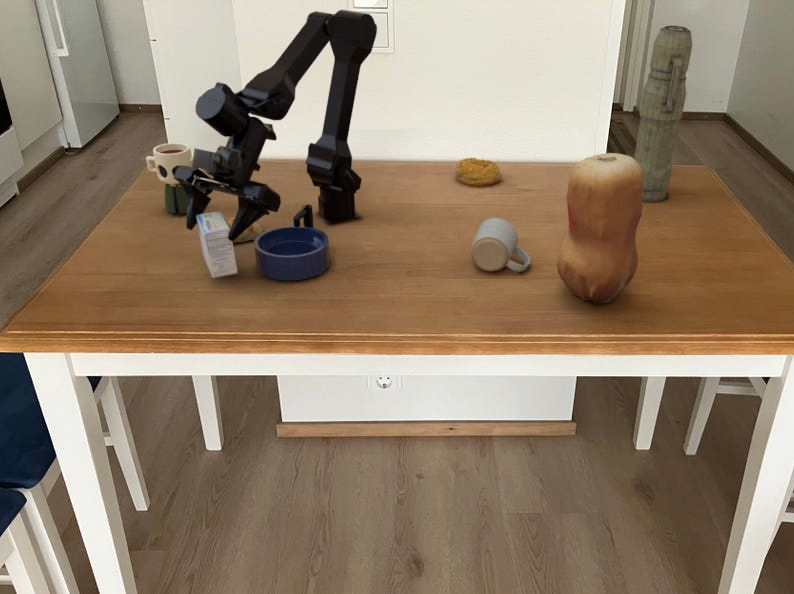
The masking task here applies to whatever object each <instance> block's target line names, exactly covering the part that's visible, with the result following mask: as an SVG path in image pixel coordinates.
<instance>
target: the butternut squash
mask: <svg viewBox="0 0 794 594" xmlns="http://www.w3.org/2000/svg"><path fill="white" fill-rule="evenodd" d="M570 171H571V172H570V175H569V181H568V184H567V191H566V205H567V217H568V218H567V219H568V230H567V232H566V235H565V236H564V238H563V240H562V242H561V245H560V248H559V251H558V255H557V261H556V268H557V273H558V275H559V277H560V279H561V281H562V283H563V284H564V285H565V288H567V290H569V291H570V293H571V294H572V295H573V296H576V297H577V298H579V299H581V300H582V301H592V302H593V303H594V304H605V303H609V302H612V301H613V300H614V299H615V298H616V297H617V296H618V295H619V294H621V292H622V291H623V290H624V289H625V288H626V287H627V286H628V285H629V284H630V283H631V281H633V278H634V276H635V274H636V272H637V268H638V264H639V263H638V261H639V256H638V250H637V249H638V248H637V243H636V235H637V231H638V225H639V223H640V220H641V218H642V216H643V215H642V213H643V206H644V205H643V201H642V199H643V174H642V170H641V167H640V165H639V164H638V162H637V161H636V160H635V159H634V157H632V156H630V155H627V154H623V153H616V152H606V153H598V154H595V155H592V156H588V157H585V158H584V159H582V160H581V161H578V162H577V163H576V164H575V165H574V167H572V169H571V170H570Z"/></svg>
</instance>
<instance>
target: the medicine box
mask: <svg viewBox="0 0 794 594" xmlns="http://www.w3.org/2000/svg"><path fill="white" fill-rule="evenodd" d="M196 219H197V224H196V225H197V229H198V236H199V240H200V246H201V252H202V256H203V259H204V262H205V265H206V267H207V268H208V270H209V273H210V275H211V278H212V279H215V278H221V277H222V278H223V277H226V276H231V275H237V274H238V273H239V271H238V266H237V260H236V255H235V249H234V248H235V247H234V243H233V242H232V241H230V240H229V239H228V236H229V232H230V228H229V226H228V224H227V222H226V221H227V220H226V218H225V216H224V214H223V213H222V211H220V210H217V211H211V212H203V214H199V215H196Z"/></svg>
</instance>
